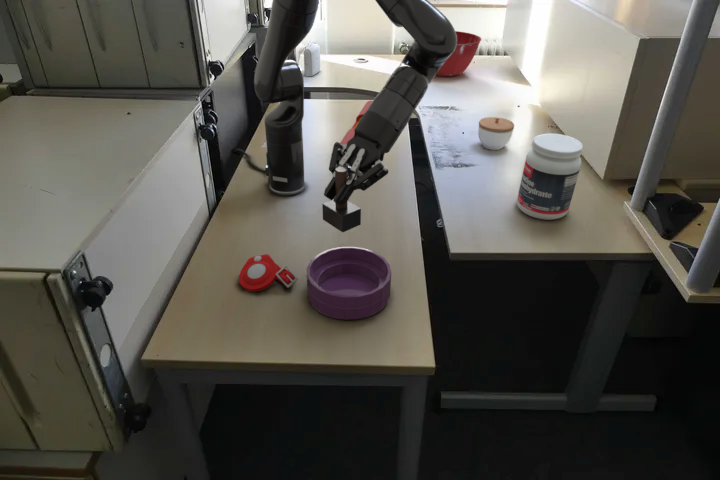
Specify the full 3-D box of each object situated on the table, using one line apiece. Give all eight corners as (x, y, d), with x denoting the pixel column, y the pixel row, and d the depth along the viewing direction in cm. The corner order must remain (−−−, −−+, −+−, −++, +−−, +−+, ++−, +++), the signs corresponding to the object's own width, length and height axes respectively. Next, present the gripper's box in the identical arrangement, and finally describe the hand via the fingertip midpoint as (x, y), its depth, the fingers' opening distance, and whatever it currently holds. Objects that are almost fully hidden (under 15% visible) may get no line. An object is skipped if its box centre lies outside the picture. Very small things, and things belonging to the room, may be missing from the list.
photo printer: (312, 77, 227) (311, 47, 220) (303, 76, 228) (302, 46, 221) (321, 71, 235) (321, 42, 228) (313, 69, 236) (312, 41, 229)
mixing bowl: (401, 67, 242) (403, 32, 234) (453, 61, 253) (457, 27, 244) (433, 85, 221) (437, 46, 213) (489, 77, 231) (495, 41, 223)
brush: (322, 219, 101) (321, 167, 95) (340, 212, 103) (340, 160, 97) (342, 232, 97) (342, 178, 91) (360, 224, 99) (361, 171, 93)
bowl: (291, 290, 106) (290, 266, 102) (353, 260, 115) (353, 237, 111) (342, 334, 96) (343, 309, 92) (406, 297, 105) (408, 273, 101)
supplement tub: (506, 208, 135) (519, 141, 125) (532, 192, 143) (546, 127, 133) (552, 228, 128) (570, 158, 118) (577, 210, 135) (596, 142, 125)
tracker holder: (235, 291, 103) (237, 253, 110) (243, 304, 107) (244, 266, 113) (295, 278, 103) (293, 240, 109) (301, 291, 106) (299, 254, 113)
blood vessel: (364, 113, 191) (365, 99, 189) (378, 114, 190) (378, 101, 188) (335, 160, 157) (334, 145, 154) (351, 162, 156) (351, 147, 153)
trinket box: (510, 141, 172) (515, 114, 167) (509, 155, 163) (514, 126, 158) (477, 137, 174) (481, 110, 169) (474, 150, 165) (478, 121, 160)
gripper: (348, 99, 97) (297, 178, 97) (401, 120, 89) (345, 207, 89) (369, 120, 103) (321, 195, 103) (421, 142, 95) (368, 223, 94)
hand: (332, 200), depth 96 cm, fingers closed on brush, 2 cm apart
